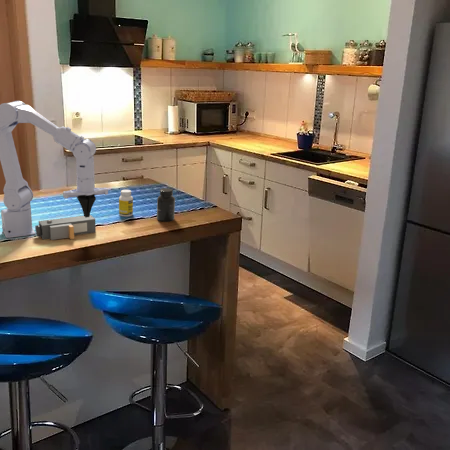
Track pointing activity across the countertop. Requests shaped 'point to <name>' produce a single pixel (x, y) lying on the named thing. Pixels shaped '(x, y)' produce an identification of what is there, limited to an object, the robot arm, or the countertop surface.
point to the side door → (62, 231)
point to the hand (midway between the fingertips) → (86, 216)
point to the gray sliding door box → (79, 223)
